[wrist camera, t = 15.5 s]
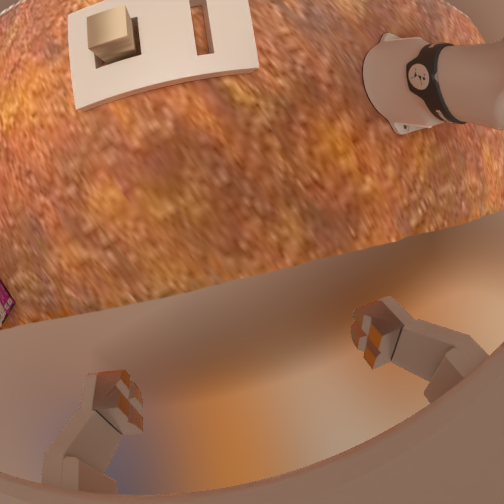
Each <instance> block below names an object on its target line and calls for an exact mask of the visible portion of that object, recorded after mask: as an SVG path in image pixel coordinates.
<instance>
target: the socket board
mask: <svg viewBox="0 0 504 504" xmlns="http://www.w3.org/2000/svg"><path fill="white" fill-rule="evenodd" d="M122 5H125V6H126V8H127V10H128V13H129V15H130V18H131V20H132V22H133V25H134V27H135V28H139V37H140V46H141V53H142V55H138V56H135V57H131V58H128V59H124V60H121V61H118V62H115V63H112V64H109V65H106V66H103V63H102V59H100V58H99V57H98V56H97V55H95V54H94V53H93V52H92V51H91V50H89V49H88V38H87V17H89V16H91V15H94V14H97V13H100V12H103V11H106V10H109V9H112V8H115V7H118V6H122ZM194 6H202V9H203V16H204V23H205V29H206V36H207V42H208V49H209V54H205V55H199V56H197V52H196V45H195V38H194V31H193V24H192V17H191V10H190V7H194ZM68 41H69V57H70V68H71V78H72V86H73V94H74V100H75V107H76V110H84V111H87V110H89V109H92V108H95V107H98V106H100V105H103V104H106V103H109V102H112V101H115V100H118V99H121V98H125V97H128V96H131V95H135V94H138V93H142V92H146V91H149V90H153V89H157V88H161V87H166V86H170V85H175V84H179V83H184V82H189V81H195V80H200V79H207V78H213V77H220V76H227V75H236V74H245V73H251V72H253V71H255V70H256V69H258V68H259V62H258V56H257V50H256V44H255V38H254V32H253V26H252V21H251V15H250V9H249V4H248V0H105V1H102V2H99V3H97V4H94V5H91V6H89V7H86V8H83V9H81V10H78V11H76V12H74V13H71V14H69V15H68Z"/></svg>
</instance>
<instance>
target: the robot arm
mask: <svg viewBox="0 0 504 504" xmlns="http://www.w3.org/2000/svg"><path fill="white" fill-rule="evenodd" d="M363 80H364V85H365V89H366V92H367V94H368V97H369V99H370V101H371V102H372V104H373V105H374V107H375V108H376V109H377V111H378V112H379V113H380V114H381V115H383V116H384V117H385V118H386V119H387V120H388V121H389V123H390V125H391V127H392V128H393V130H394V132H395V133H396V134H406V133H409V132H413V131H416V130H420V129H423V128H432V126H434V125H438V124H442V123H444V122H448V123H453V124H465V123H472V124H477V125H481V126H485V127H489V128H493V129H497V130H504V38H502V39H500V40H498V41H495V42H492V43H486V44H475V45H459V46H454V45H452V44H449V43H434V44H430V43H428V42H427V41H425V40H423V39H422V38H420V37H411V38H400V37H398V36H396V35H394V34H392V33H385V34H383V36H382V38H381V40H380V42H379V44H377V45H376V46H374V47H373V48H372V49H371V50H370V51H369V52H368V54H367V55H366V58H365V60H364V65H363ZM353 318H354V320H355V322H354V323H353V324H352V326H351V337H352V340H353V343H354V344H355V346H356V347H357V349H359V350H361V351H364V359H365V360H366V361H367V363H368V364H369V365H370V367H371V368H372V369H374V368H377V367H379V366H381V365H383V364H386V363H388V362H390V361H391V362H392V363H394V364H396V365H398V366H399V367H401V368H404V369H405V370H408V371H409V372H411V373H413V374H415V375H418V376H420V377H421V378H423V379H425V380H427V381H429V382H430V383H429V384H428V386H427V388H426V389H425V391H424V395H425V397H426V398H427V399H428V401H429V402H430V404H429V405H428V406H426V407H425V408H423V409H422V410H420V411H418V412H417V413H415V414H414V415H412V416H411V417H409V418H407V419H406V420H404V421H402V422H401V423H399V424H397V425H396V426H394V427H392V428H390V429H389V430H387V431H385V432H383V433H381V434H379V435H378V436H375V437H373V438H372V439H370V440H368V441H366V442H364V443H362V444H360V445H357V446H355V447H353V448H351V449H349V450H347V451H344V452H342V453H339V454H337V455H335V456H332V457H330V458H327V459H325V460H322V461H320V462H317V463H314V464H312V465H309V466H306V467H303V468H300V469H297V470H294V471H291V472H288V473H285V474H281V475H278V476H274V477H271V478H267V479H263V480H259V481H255V482H250V483H247V484H241V485H237V486H232V487H226V488H221V489H214V490H207V491H199V492H191V493H181V494H165V495H118V490H117V482H116V481H115V480H113V479H112V478H109V477H108V476H106V475H104V473H105V471H106V469H107V467H108V465H109V463H110V461H111V459H112V457H113V455H114V453H115V451H116V449H117V447H118V445H119V443H120V441H121V439H122V437H123V436H122V435H129V434H138V433H143V417H142V416H141V415H140V413H139V412H140V410H141V409H142V407H143V399H142V395H141V392H140V389H139V387H138V386H137V384H136V383H135V382H132V381H130V375H129V373H128V372H127V371H126V370H116V371H107V372H98V373H88V374H87V375H86V377H85V380H84V386H83V391H82V397H81V403H80V410H79V411H76V412H75V413H74V415H73V416H72V417H71V418H70V420H69V421H68V422H67V424H66V425H65V426H64V427H63V429H62V430H61V431H60V433H59V434H58V435H57V437H56V438H55V439H54V441H53V442H52V443H51V445H50V446H49V447H48V449H47V450H46V451H45V453H44V460H43V471H42V484H40V483H36V482H32V481H28V480H25V479H20V478H18V477H14V476H11V475H8V474H5V473H2V472H0V504H504V342H503V343H502V344H501V345H500V346H499V347H498V348H497V349H496V350H495V351H494V352H493V353H492V354H491V355H490V356H489V355H488V354H487V353H486V352H485V351H484V350H483V349H482V348H481V347H480V346H479V345H478V344H477V343H476V342H475V341H474V340H473V339H472V338H471V337H470V336H469V335H467V334H463V333H460V332H457V331H454V330H451V329H448V328H445V327H442V326H438V325H435V324H432V323H429V322H426V321H423V320H420V319H418V320H415V319H414V318H413V317H412V316H411V315H410V314H409V313H408V312H407V311H406V310H405V309H404V308H403V307H402V306H401V305H400V304H399V303H398V302H397V301H396V300H395V299H394V298H393V297H391V296H387V297H384V298H382V299H379V300H377V301H374V302H371V303H369V304H366V305H364V306H361V307H359V308H356V309H355V310H354V312H353Z"/></svg>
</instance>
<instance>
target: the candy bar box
mask: <svg viewBox="0 0 504 504" xmlns="http://www.w3.org/2000/svg"><path fill="white" fill-rule="evenodd" d="M14 304H15V302H14V300H13V299H12V297H11V296H10V294H9V293H8V291H7V290H6V288H5V287H4V285H3V284H2V282H1V280H0V328H1V326H2V324H3V322H4V321H5V319H6V317H7V316H8V314H9V312H10V311H11V309H12V308H13V306H14Z"/></svg>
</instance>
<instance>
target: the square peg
mask: <svg viewBox="0 0 504 504" xmlns="http://www.w3.org/2000/svg"><path fill="white" fill-rule="evenodd" d="M87 38H88V49H89V50H91V51H92V52H93V53H94V54H95V55H97V56H98V57H99V58H100V59H102V60H103V61H104V62H105V63H106V64H108V65H109V64H112V63H115V62H118V61H121V60H124V59H128V58H131V57H135V56H138V55H139V48H138V39H137V32H136V30H135V27H134V25H133V22H132V20H131V18H130V15H129V13H128V10H127V8H126V6H125V5H122V6H118V7H115V8H112V9H109V10H106V11H103V12H100V13H97V14H94V15H91V16H89V17H87Z"/></svg>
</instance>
